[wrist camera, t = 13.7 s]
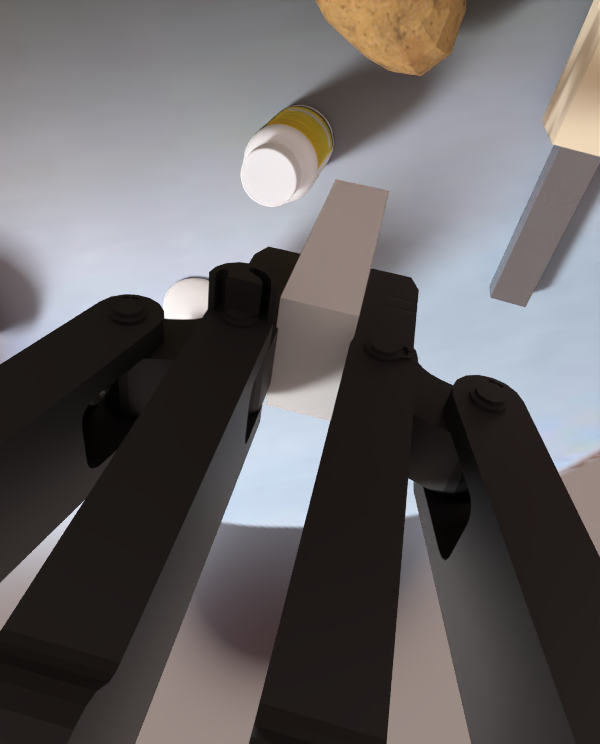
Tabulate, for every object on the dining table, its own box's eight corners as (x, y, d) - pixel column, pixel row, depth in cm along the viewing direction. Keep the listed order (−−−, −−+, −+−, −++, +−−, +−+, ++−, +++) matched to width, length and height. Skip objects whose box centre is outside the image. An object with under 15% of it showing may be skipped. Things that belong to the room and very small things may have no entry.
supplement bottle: (280, 92, 44) (241, 123, 36) (344, 119, 44) (319, 155, 36) (261, 158, 47) (222, 199, 40) (321, 183, 47) (294, 229, 40)
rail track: (523, 295, 49) (525, 307, 48) (489, 286, 49) (490, 297, 48) (673, -1, 36) (682, 2, 34) (625, -12, 36) (633, -10, 34)
